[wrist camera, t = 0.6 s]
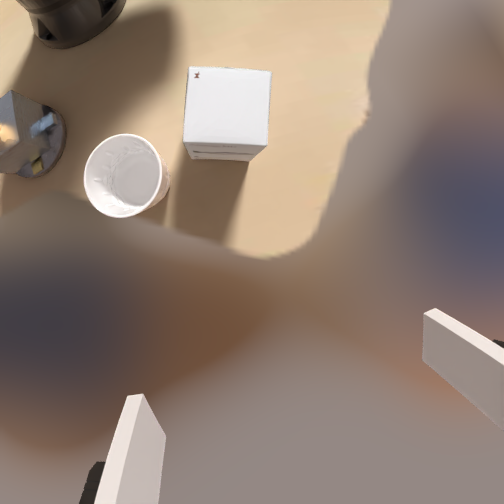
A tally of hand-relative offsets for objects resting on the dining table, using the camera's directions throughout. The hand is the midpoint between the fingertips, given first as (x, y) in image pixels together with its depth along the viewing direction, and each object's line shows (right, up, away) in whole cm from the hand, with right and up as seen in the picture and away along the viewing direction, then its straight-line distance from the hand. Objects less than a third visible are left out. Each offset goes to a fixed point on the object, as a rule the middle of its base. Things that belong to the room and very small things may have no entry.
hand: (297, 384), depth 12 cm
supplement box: (-6, +20, +24) cm, 32 cm away
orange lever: (-34, +19, +17) cm, 42 cm away
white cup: (-15, +14, +24) cm, 31 cm away
